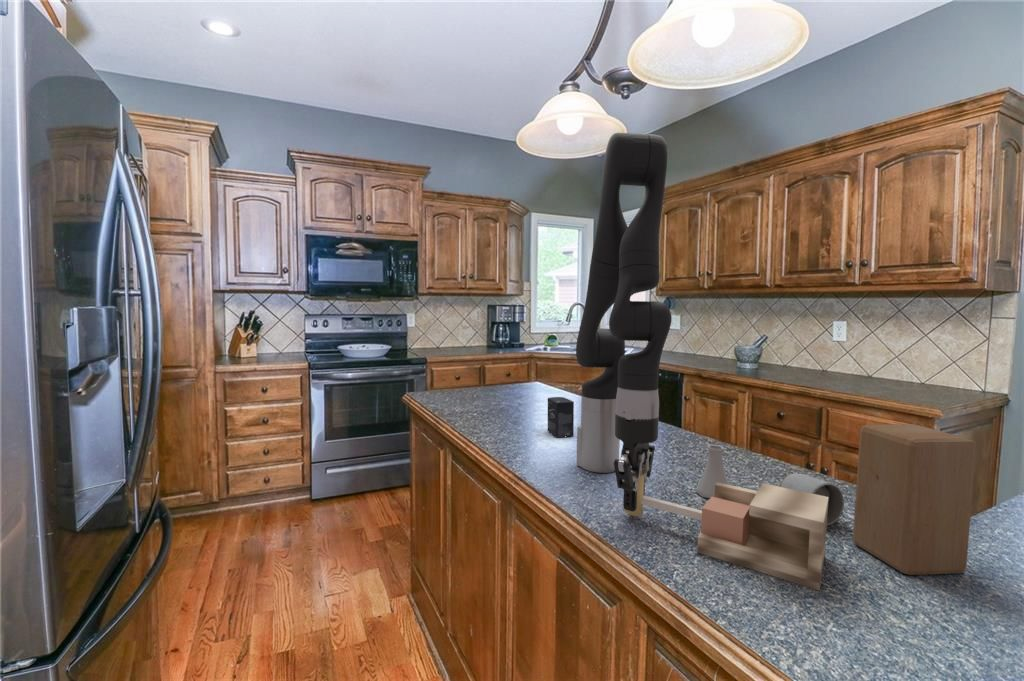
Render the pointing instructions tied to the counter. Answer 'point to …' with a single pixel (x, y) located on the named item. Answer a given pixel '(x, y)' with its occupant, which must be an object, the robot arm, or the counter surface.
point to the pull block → (705, 515)
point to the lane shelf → (776, 533)
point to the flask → (712, 472)
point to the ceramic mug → (817, 492)
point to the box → (560, 416)
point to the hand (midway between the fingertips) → (633, 505)
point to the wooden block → (914, 497)
